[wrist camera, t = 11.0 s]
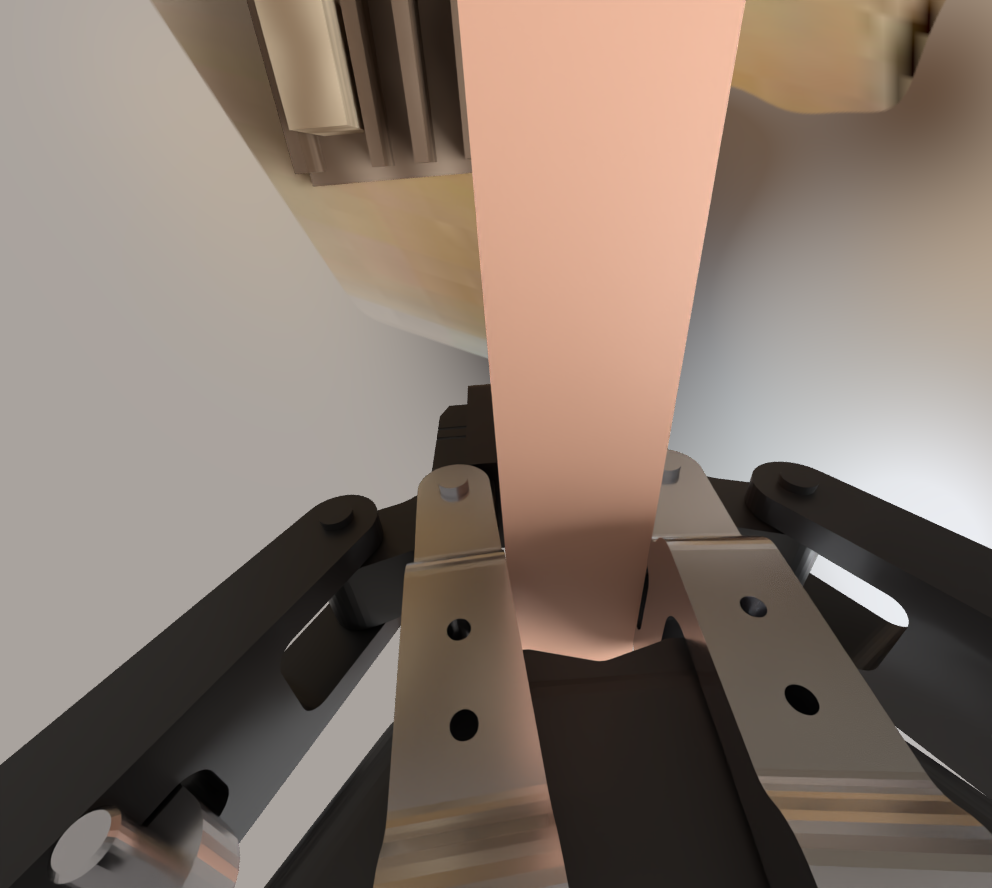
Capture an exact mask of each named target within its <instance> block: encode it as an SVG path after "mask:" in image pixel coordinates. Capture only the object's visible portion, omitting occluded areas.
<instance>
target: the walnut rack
mask: <svg viewBox="0 0 992 888" xmlns="http://www.w3.org/2000/svg"><path fill="white" fill-rule="evenodd" d="M335 1H336V2H337V3H338V4H339V5H340V7H341V10H342V15H343V20H344V25H345V31H346V36H347V41H348V46H349V51H350V56H351V62H352V67H353V72H354V77H355V82H356V87H357V92H358V98H359V103H360V108H361V113H362V118H363V123H364V129H365V133H354V134H343V135H331V136H320V135H315V134H309V133H304V132H298V131H293V130H289V127H288V123H287V119H286V116H285V112H284V108H283V105H282V101H281V97H280V94H279V90H278V86H277V83H276V79H275V75H274V71H273V68H272V64H271V60H270V57H269V53H268V49H267V46H266V42H265V38H264V35H263V31H262V27H261V24H260V20H259V16H258V13H257V9H256V5H255V1H254V0H247V3H248V7H249V10H250V14H251V18H252V21H253V25H254V28H255V32H256V36H257V39H258V43H259V46H260V50H261V53H262V57H263V61H264V64H265V68H266V71H267V75H268V79H269V82H270V86H271V89H272V93H273V97H274V100H275V104H276V107H277V111H278V115H279V118H280V122H281V125H282V129H283V133H284V136H285V140H286V143H287V147H288V151H289V154H290V158H291V161H292V165H293V168H294V172H295V174H302V173H310V177H311V181H312V185H313V186H325V185H336V184H348V183H360V182H371V181H383V180H394V179H406V178H417V177H429V176H440V175H452V174H463V173H472V163H471V152H470V140H469V129H468V118H467V106H466V95H465V83H464V72H463V60H462V49H461V37H460V26H459V15H458V3H457V0H335Z"/></svg>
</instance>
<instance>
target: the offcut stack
mask: <svg viewBox="0 0 992 888" xmlns="http://www.w3.org/2000/svg"><path fill="white" fill-rule="evenodd" d="M254 1H255V5H256V9H257V13H258V16H259V20H260V24H261V27H262V31H263V35H264V38H265V42H266V46H267V49H268V53H269V57H270V60H271V64H272V68H273V71H274V75H275V79H276V83H277V86H278V90H279V94H280V97H281V101H282V105H283V108H284V112H285V116H286V119H287V123H288V127H289V130H293V131H298V132H304V133H309V134H315V135H320V136H331V135H343V134H354V133H365V129H364V123H363V118H362V113H361V108H360V103H359V98H358V92H357V87H356V82H355V77H354V72H353V67H352V62H351V56H350V51H349V46H348V41H347V36H346V31H345V25H344V20H343V15H342V10H341V7H340V5H339V4H338V3H337V2H336V1H335V0H254Z"/></svg>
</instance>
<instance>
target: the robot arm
mask: <svg viewBox="0 0 992 888" xmlns="http://www.w3.org/2000/svg"><path fill="white" fill-rule="evenodd" d="M467 403H468V404H467V405H455V406H449V407H448V408H447V409H446V410H445V412H444V413H443V414H442V415H441V416H440V420H439V427H438V434H437V441H436V447H435V455H434V461H433V468H432V472H431V473H429V474H428V475H427V476H425V477H424V478H423V480H422V481H421V482H420V484H419V487H418V494H417V496H415V497H413V498H412V499H410V500H408V501H406V502H403V503H401V504H397V505H394V506H391V507H388V508H384V509H381V510H378V511H377V508H376V506H375V504H374V503H373V501H371V500H370V499H369V498H366V497H364V496H359V495H345V496H339V497H335V498H332V499H329V500H326V501H324V502H322V503H320V504H318V505H317V506H315V507H314V508H313V509H311V510H310V511H309V512H307V513H306V514H305V515H304V516H302V517H301V518H300V519H299V520H298V521H296V522H295V523H294V524H293V525H292V526H290V527H289V528H288V529H287V530H285V531H284V532H283V533H282V534H281V535H279V536H278V537H277V538H276V539H275V540H274V541H272V542H271V543H270V544H269V545H267V546H266V547H265V548H264V549H262V550H261V551H260V552H259V553H258V554H256V555H255V556H254V557H253V558H251V559H250V560H249V561H248V562H247V563H245V564H244V565H243V566H242V567H241V568H239V569H238V570H237V571H236V572H235V573H233V574H232V575H231V576H230V577H228V578H227V579H226V580H225V581H224V582H222V583H221V584H220V585H219V586H217V587H216V588H215V589H214V590H213V591H212V592H210V593H209V594H208V595H206V596H205V597H204V598H203V599H202V600H200V601H199V602H198V603H197V604H196V605H194V606H193V607H192V608H191V609H190V610H188V611H187V612H186V613H185V614H183V615H182V616H181V617H180V618H178V619H177V620H176V621H175V622H174V623H172V624H171V625H170V626H169V627H168V628H167V629H165V630H164V631H163V632H162V633H160V634H159V635H158V636H157V637H155V638H154V639H153V640H152V641H151V642H149V643H148V644H147V645H146V646H144V647H143V648H142V649H141V650H140V651H138V652H137V653H136V654H135V655H133V656H132V657H131V658H130V659H129V660H127V661H126V662H125V663H124V664H123V665H122V666H120V667H119V668H118V669H116V670H115V671H114V672H113V673H112V674H110V675H109V676H108V677H107V678H106V679H104V680H103V681H102V682H101V683H100V684H98V685H97V686H96V687H95V688H93V689H92V690H91V691H90V692H89V693H87V694H86V695H85V696H84V697H83V698H81V699H80V700H79V701H78V702H76V703H75V704H74V705H73V706H72V707H70V708H69V709H68V710H67V711H65V712H64V713H63V714H62V715H61V716H60V717H58V718H57V719H56V720H55V721H53V722H52V723H51V724H50V725H48V726H47V727H46V728H45V729H44V730H42V731H41V732H40V733H39V734H38V735H36V736H35V737H34V738H33V739H31V740H30V741H29V742H28V743H27V744H25V745H24V746H23V747H22V748H21V749H19V750H18V751H17V752H16V753H14V754H13V755H12V756H11V757H9V758H8V759H7V760H6V761H5V762H3V763H2V764H1V765H0V888H234V887H235V883H236V880H237V875H238V871H239V862H240V850H239V843H240V841H241V840H242V839H243V837H244V836H245V835H246V833H247V832H248V831H249V829H250V828H251V826H252V825H253V824H254V822H255V821H256V820H257V818H258V817H259V816H260V814H261V813H262V812H263V810H264V809H265V808H266V806H267V805H268V804H269V802H270V801H271V799H272V798H273V797H274V795H275V794H276V793H277V791H278V790H279V789H280V787H281V786H282V785H283V783H284V782H285V781H286V779H287V778H288V777H289V775H290V774H291V772H292V771H293V770H294V769H295V767H296V766H297V765H298V763H299V762H300V760H301V759H302V758H303V756H304V755H305V754H306V752H307V751H308V750H309V748H310V747H311V746H312V744H313V743H314V742H315V740H316V739H317V737H318V736H319V735H320V733H321V732H322V731H323V729H324V728H325V727H326V725H327V724H328V723H329V721H330V720H331V719H332V717H333V716H334V715H335V713H336V712H337V711H338V709H339V708H340V707H341V705H342V704H343V703H344V701H345V700H346V698H347V697H348V696H349V694H350V693H351V692H352V690H353V689H354V688H355V686H356V685H357V684H358V682H359V681H360V680H361V678H362V677H363V676H364V674H365V673H366V671H367V670H368V669H369V667H370V666H371V665H372V663H373V662H374V661H375V659H376V658H377V657H378V655H379V654H380V653H381V651H382V650H383V649H384V647H385V646H386V645H387V643H388V642H389V641H390V639H391V638H392V637H393V635H394V634H395V632H396V631H397V630H398V628H399V627H400V625H401V629H400V644H399V657H398V671H397V685H396V698H395V712H394V722H393V723H392V724H391V725H390V726H389V727H388V728H387V730H386V731H385V732H384V733H383V735H382V736H381V737H380V738H379V740H378V741H377V742H376V744H375V745H374V746H373V747H372V749H371V750H370V751H369V753H368V754H367V755H366V756H365V758H364V759H363V760H362V762H361V763H360V765H358V767H357V768H356V769H355V771H354V772H353V773H352V775H351V776H350V777H349V779H348V780H347V781H346V782H345V784H344V785H343V786H342V787H341V789H340V790H339V791H338V793H337V794H336V795H335V797H334V798H333V799H332V800H331V802H330V803H329V804H328V806H327V807H326V808H325V809H324V811H323V812H322V814H321V815H320V816H319V817H318V818H317V820H316V821H315V822H314V824H313V825H312V826H311V827H310V829H309V830H308V831H307V833H306V834H305V835H304V837H303V838H302V839H301V841H300V842H299V843H298V844H297V846H296V847H295V848H294V849H293V851H292V852H291V853H290V855H289V856H288V857H287V859H286V860H285V861H284V862H283V864H282V865H281V867H280V868H279V869H278V870H277V871H276V873H275V874H274V875H273V877H272V878H271V879H270V880H269V882H268V883H267V884H266V886H265V887H264V888H992V549H990V548H988V547H985V546H983V545H981V544H979V543H977V542H975V541H972V540H970V539H968V538H966V537H964V536H961V535H959V534H957V533H955V532H953V531H950V530H948V529H946V528H944V527H942V526H939V525H937V524H935V523H933V522H930V521H928V520H926V519H924V518H922V517H919V516H917V515H915V514H913V513H911V512H908V511H906V510H904V509H902V508H900V507H897V506H895V505H893V504H891V503H889V502H886V501H884V500H882V499H880V498H878V497H875V496H873V495H871V494H869V493H867V492H864V491H862V490H860V489H858V488H856V487H853V486H851V485H849V484H847V483H844V482H842V481H840V480H838V479H836V478H834V477H831V476H829V475H827V474H825V473H823V472H820V471H818V470H815V469H813V468H810V467H808V466H804V465H800V464H796V463H790V462H770V463H765V464H762V465H760V466H758V467H757V468H756V469H755V470H754V471H753V474H752V477H751V480H750V482H742V481H741V482H740V481H733V480H725V479H718V478H712V477H707V476H706V475H705V473H704V471H703V470H702V468H701V466H700V465H699V464H698V463H697V462H696V461H695V460H693V459H692V458H691V457H689V456H687V455H684V454H682V453H680V452H677V451H673V450H668V448H667V454H666V460H665V466H664V471H663V477H662V483H661V488H660V494H659V500H658V506H657V511H656V517H655V523H654V529H653V534H652V539H651V542H650V548H649V553H648V559H647V569H646V575H645V580H644V586H643V592H642V598H641V603H640V609H639V615H638V620H637V625H636V628H635V634H634V640H633V646H634V651H632V652H629V653H626V654H623V655H621V656H618V657H615V658H612V659H609V660H606V661H594V660H589V659H583V658H577V657H571V656H565V655H560V654H554V653H548V652H542V651H536V650H531V649H525V650H522V645H521V639H520V634H519V628H518V623H517V618H516V612H515V607H514V601H513V596H512V590H511V585H510V579H509V574H508V568H507V563H506V558H505V553H504V550H502V549H501V548H505V541H504V529H503V518H502V507H501V495H500V484H499V472H498V461H497V449H496V438H495V426H494V415H493V404H492V392H491V384H486V385H473V386H468V401H467ZM818 554H819V555H821V556H823V557H825V558H826V559H828V560H830V561H831V562H833V563H835V564H836V565H838V566H840V567H842V568H843V569H845V570H847V571H848V572H850V573H852V574H854V575H855V576H857V577H859V578H860V579H862V580H864V581H866V582H867V583H869V584H870V585H872V586H874V587H876V588H877V589H879V590H881V591H882V592H884V593H886V594H888V595H889V596H891V597H892V598H893V599H895V600H896V601H897V602H898V603H899V604H900V605H901V606H902V607H903V609H904V610H905V612H906V613H907V616H908V619H909V625H908V627H901V626H897V625H894V624H891V623H889V622H887V621H886V620H884V619H882V618H881V617H879V616H878V615H876V614H874V613H873V612H871V611H870V610H868V609H866V608H865V607H863V606H862V605H860V604H858V603H857V602H855V601H854V600H852V599H851V598H848V597H847V596H846V595H844V594H842V593H841V592H839V591H838V590H836V589H834V588H833V587H831V586H830V585H828V584H827V583H825V582H823V581H822V580H820V579H819V578H817V577H815V576H814V575H812V574H811V573H810V571H811V568H812V566H813V564H814V562H815V560H816V558H817V556H818ZM328 601H329V604H328V605H327V607H326V608H325V609H324V610H323V611H322V612H321V613H320V614H319V615H318V616H317V617H316V618H315V619H314V620H313V622H312V623H311V624H310V625H309V626H308V627H307V628H306V629H305V630H304V631H303V632H302V633H301V634H300V636H299V637H298V638H297V639H296V640H295V641H294V642H293V643H292V644H291V645H290V646H289V647H288V649H287V650H286V651H285V649H286V648H287V646H288V644H289V643H290V642H291V641H292V639H293V638H294V637H295V636H296V635H297V634H298V633H299V632H300V631H301V630H302V629H303V628H304V626H305V625H306V624H307V623H308V622H309V621H310V620H311V619H312V618H313V617H314V616H315V615H316V614H317V613H318V612H319V611H320V609H321V608H322V607H323V606H324V605H325V604H326V603H327V602H328ZM284 651H285V652H284ZM895 726H896V727H897V728H899V729H900V730H901V731H902V732H904V733H905V734H906V735H908V736H909V737H910V738H912V739H913V740H914V741H915V742H917V743H918V744H919V745H921V746H922V747H923V748H925V749H926V750H927V751H928V752H930V753H931V754H932V755H934V756H935V757H936V758H938V759H939V760H940V761H941V762H943V763H944V764H945V765H947V766H948V767H949V768H951V769H952V770H953V771H955V772H956V773H957V774H959V775H960V776H961V777H962V778H964V779H965V780H966V781H967V782H969V783H970V784H971V785H973V786H974V787H975V788H977V789H978V790H979V791H980V792H979V791H978V790H976V789H975V788H973V787H972V786H971V785H969V784H968V783H966V782H965V781H963V780H962V779H960V778H959V777H957V776H956V775H954V774H953V773H952V772H950V771H949V770H947V769H946V768H944V767H943V766H941V765H940V764H938V763H937V762H936V761H934V760H933V759H931V758H930V757H928V756H927V755H925V754H924V753H922V752H921V751H919V750H918V749H917V748H915V747H914V746H912V745H911V744H909V743H908V742H906V741H905V740H904V739H903V737H902V736H901V735H900V733H899V731H898V730H897V728H896V727H895ZM981 792H982V793H983V794H982V793H981ZM985 795H986V796H985Z"/></svg>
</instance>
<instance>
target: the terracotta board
mask: <svg viewBox="0 0 992 888" xmlns="http://www.w3.org/2000/svg"><path fill="white" fill-rule="evenodd" d="M745 1H746V0H457V3H458V15H459V26H460V37H461V49H462V60H463V72H464V83H465V95H466V106H467V118H468V129H469V140H470V152H471V163H472V175H473V186H474V198H475V209H476V220H477V232H478V243H479V255H480V266H481V278H482V289H483V301H484V312H485V323H486V335H487V346H488V358H489V369H490V381H491V392H492V404H493V415H494V426H495V438H496V449H497V461H498V472H499V484H500V495H501V507H502V518H503V529H504V541H505V552H506V563H507V568H508V574H509V579H510V585H511V590H512V596H513V601H514V607H515V612H516V618H517V623H518V628H519V634H520V639H521V645H522V650H525V649H531V650H536V651H542V652H548V653H554V654H560V655H565V656H571V657H577V658H583V659H589V660H594V661H606V660H609V659H612V658H615V657H618V656H621V655H623V654H626V653H629V652H632V649H633V640H634V634H635V628H636V625H637V620H638V615H639V609H640V603H641V598H642V592H643V586H644V580H645V575H646V569H647V559H648V553H649V548H650V542H651V539H652V534H653V529H654V523H655V517H656V511H657V506H658V500H659V494H660V488H661V483H662V477H663V471H664V466H665V460H666V454H667V448H668V443H669V437H670V431H671V425H672V420H673V414H674V408H675V402H676V397H677V391H678V385H679V379H680V374H681V368H682V362H683V357H684V351H685V345H686V339H687V334H688V328H689V322H690V316H691V311H692V305H693V299H694V293H695V288H696V282H697V276H698V270H699V265H700V259H701V253H702V248H703V242H704V236H705V230H706V225H707V218H708V213H709V207H710V202H711V195H712V190H713V184H714V179H715V173H716V167H717V161H718V156H719V150H720V144H721V139H722V133H723V127H724V121H725V115H726V110H727V104H728V98H729V93H730V87H731V81H732V75H733V70H734V64H735V58H736V52H737V47H738V41H739V35H740V29H741V24H742V18H743V12H744V7H745Z"/></svg>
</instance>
